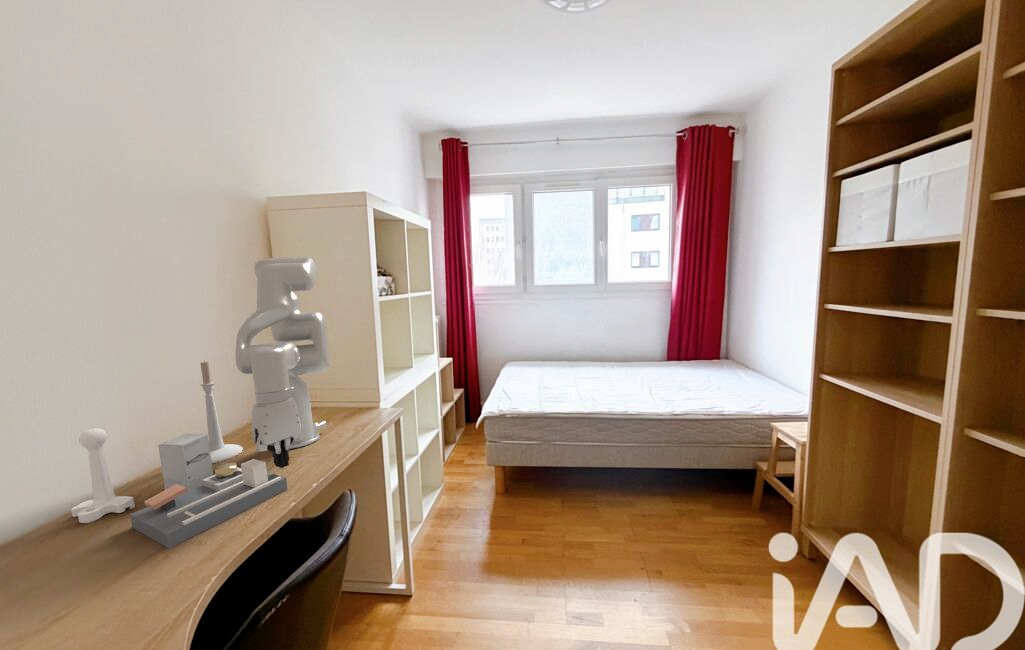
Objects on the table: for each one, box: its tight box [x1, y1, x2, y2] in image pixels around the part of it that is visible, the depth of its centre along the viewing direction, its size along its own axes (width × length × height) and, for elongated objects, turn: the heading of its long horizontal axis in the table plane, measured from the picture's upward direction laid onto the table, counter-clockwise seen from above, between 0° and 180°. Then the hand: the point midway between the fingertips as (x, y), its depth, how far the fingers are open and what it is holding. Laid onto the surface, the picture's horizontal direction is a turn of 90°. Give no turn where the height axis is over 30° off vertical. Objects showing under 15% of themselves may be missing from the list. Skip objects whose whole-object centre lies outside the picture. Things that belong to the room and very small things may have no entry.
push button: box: [214, 462, 238, 479], centre depth 97 cm, size 4×4×2 cm
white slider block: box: [240, 458, 268, 488], centre depth 95 cm, size 3×5×5 cm, turn 62°
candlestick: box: [200, 360, 244, 465], centre depth 120 cm, size 13×13×30 cm
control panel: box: [129, 466, 288, 549], centre depth 92 cm, size 24×17×4 cm
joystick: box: [70, 427, 136, 524], centre depth 90 cm, size 11×8×20 cm
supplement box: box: [158, 433, 214, 491], centre depth 103 cm, size 7×7×13 cm
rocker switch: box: [144, 484, 187, 510], centre depth 87 cm, size 6×4×1 cm
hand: (282, 465), depth 101 cm, fingers closed
